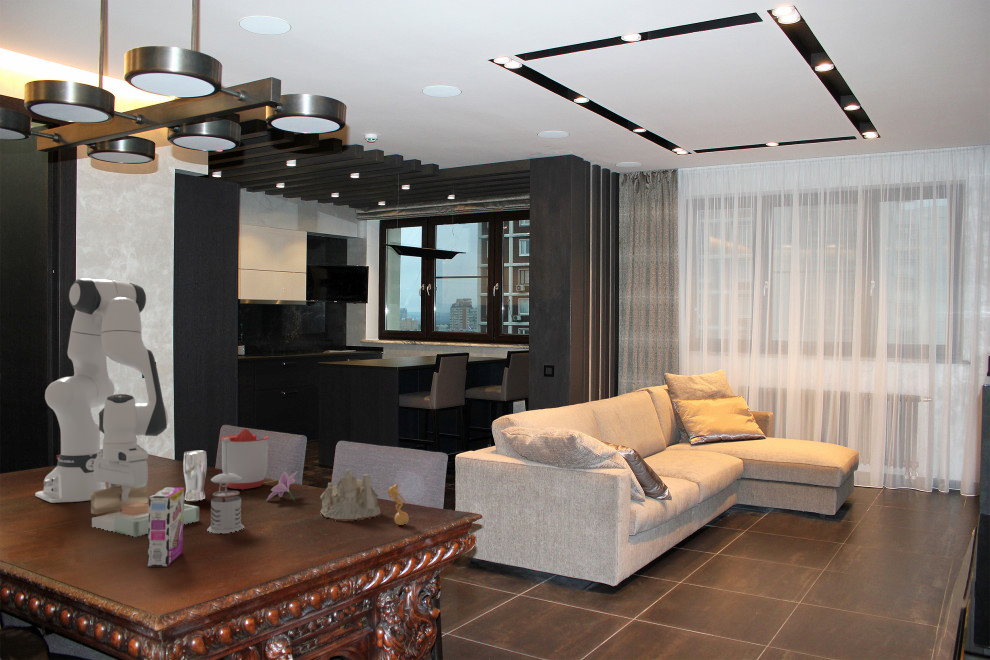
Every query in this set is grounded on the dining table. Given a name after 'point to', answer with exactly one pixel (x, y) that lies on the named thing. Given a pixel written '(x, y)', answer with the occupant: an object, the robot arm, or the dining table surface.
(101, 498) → the bar
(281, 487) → the lily
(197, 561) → the dining table surface
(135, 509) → the terracotta tile
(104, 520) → the plate
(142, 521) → the box
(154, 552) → the candy bar box
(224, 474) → the french press
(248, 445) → the citrus juicer
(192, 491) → the beer glass
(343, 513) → the castle model
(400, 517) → the figurine
